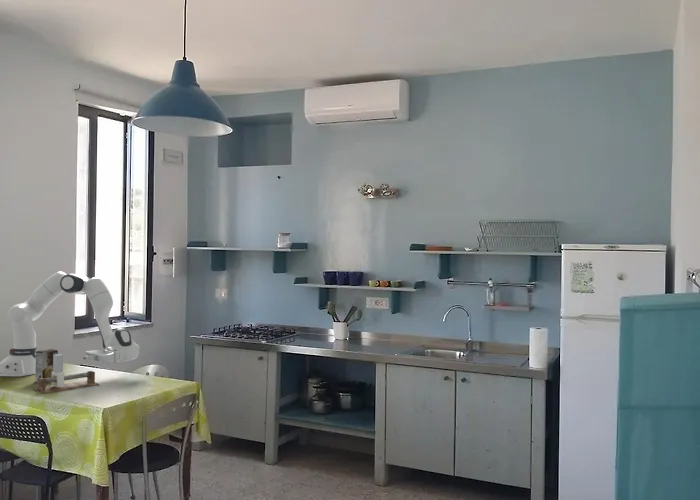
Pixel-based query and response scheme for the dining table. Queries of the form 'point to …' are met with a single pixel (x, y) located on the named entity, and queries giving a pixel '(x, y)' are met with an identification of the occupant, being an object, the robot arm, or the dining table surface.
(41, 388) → the pipe stand
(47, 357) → the coffee box
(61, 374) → the collar
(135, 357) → the robot arm
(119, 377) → the dining table surface
